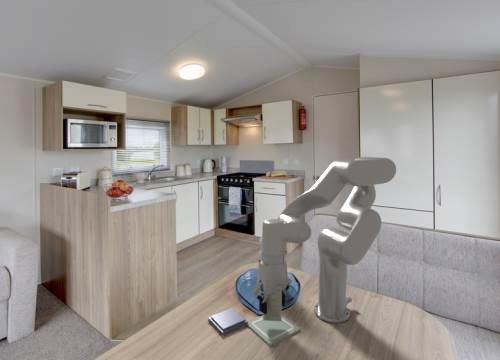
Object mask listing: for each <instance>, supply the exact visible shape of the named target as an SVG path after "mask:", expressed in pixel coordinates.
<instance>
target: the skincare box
mask: <svg viewBox="0 0 500 360" xmlns="http://www.w3.org/2000/svg"><path fill="white" fill-rule="evenodd" d="M263 297H264V294H263V296H262V298H263ZM266 302H267V314H263V313H262V316H263V320H264V321H282V316H283V313H282V312H283V311H282V310H283V309H282V308H283V306H282V285H279V286H277V287H276V289H275V292H274V293H271V294H269V295H268V297H267V299H266Z"/></svg>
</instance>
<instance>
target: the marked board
mask: <svg viewBox="0 0 500 360" xmlns="http://www.w3.org/2000/svg"><path fill="white" fill-rule="evenodd" d="M246 326H247V327H248V328H249V329H250V330H252V332H253V333H254V334H256V335H257V336H258V337H259V338H260V339H261V340H263V341H264V342H265V343H266V344H267V345H268V346H270V347H271V346H273V345H275V344H277V343H279V342H281V341H282V340H285V339H287V338H288V337H291V336H293V335H294V334H297V333H298V332H300V331H301V328H300V327H299V326H297V325H296V324H295V323H294V322H292V321H290V320H289V319H288V318H286V317H285V316H284V315H282V321H264V320H263V315H261V316H258V317H257V318H254V319H252V320H250V321H248V323H247V325H246Z"/></svg>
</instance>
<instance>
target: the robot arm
mask: <svg viewBox="0 0 500 360" xmlns="http://www.w3.org/2000/svg"><path fill="white" fill-rule="evenodd" d="M396 173H397V165H396V163H395V161H393V160H392V159H390V158H388V157H387V158H386V157H375V156H374V157H373V156H361V157H357V158H355V159H346V158H345V159H344V158H343V159H340V158H339V159H336V160H334V161H333V162H332V163H330V165H329V166H328V167H327V168H326V170H324V172H323V173H322V175H321V176H320V177H319V178H318V180H316V181H315V183H314V184H313V186H312V187H311V188H310V189H309V190H306V191H305V192H303V193H302V194H300V195H298V196H297V197H296V198H294V199H293V200H292V201H290V203H288V204H287V206H286V207H284V209H283V210H282V212H281V213H280V214H279V216H278V217H277V218H270V219H265V220H264V221H263V222H262V226H261V227H262V231H261V232H262V233H261V234H262V235H261V237H262V261H261V262H260V264H259V263H258V269H257V274H256V275H257V276H256V286H255V288H254V289H253V290H252V291H251V294H252V295H253V296H254V298H255V299H257V300H258V301H259V302H258V303H259V304H258V305H259V306H258V309H259V311H260V312H261V313H262V315H263V314H267V302H266V299H267V297H268V295H269V294H271V293H274V292H275V289H276V287H277V286H279V285H282V308H283V307H286V296H287V294H288V290H289V289H290V285H291V284H292V282H293V280H292V279H291V278H290V277H288V266H287V261H286V255H287V251H286V243H288V244H289V243H290V244H291V243H292V244H302V243H305V242H307V241H308V240H309V239H310V237H311V235H312V229H311V226H310V225H309V224H308V222H306V221H305V220H302V217H304V215H306V214H308V213H309V212H311V211H314V210H318V209H322V208H323V209H324V208H326V207H328V206H330V205H332V203H333V202H334V201H335V200H336V199H337V197H338V196H339V195H340V193H341V192H342V191H343V190H344V188H345V187H346V186H350V187H351V186H352V189H351V192H350V193H349V195H348V197H347V198H346V200H345V201H344V202H343V204H342V205H341V207H340V208H339V211H338V212H337V214H336V222H337V224H338V225H339V227H341V228H343V229H345V230H347V231H349V233H348V232H346V231H344V230H341V229H339V228H335V227H331V226H330V227H326V228H324V229H322V230H321V231H320V232H319V234H318V236H317V251H318V255H319V257H318V258H319V269H318V302H317V303H315V304H314V306H313V312H314V314H315V315H316V316H317V317H318V318H319V319H321V320H322V321H326V322H328V323H332V324H340V323H344V322H346V320H349V319H350V317H351V316H350V315H351V312H350V310H349V308H348V307H347V306H348V304H351V303H352V302H353V298H352V297H351V296H348V297H347V275H348V266H354V265H357V264H359V263H361V261H363V258H364V257H365V256H366V254H367V252H368V251H369V249H370V248H371V246H372V245H373V243H374V242H375V240H376V238H377V237H378V235H379V233H380V231H381V228H382V218H381V215H380V213H379V212H378V211H376V210H375V209H373V208H372V206H373V204H374V202H375V200H376V196H377V191H376V186H375V185H382V184H386V183H387V184H388V183H389V182H391V181H392V180H393V179H394V178H395V176H396V175H397V174H396ZM263 294H264V297H263Z"/></svg>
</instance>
